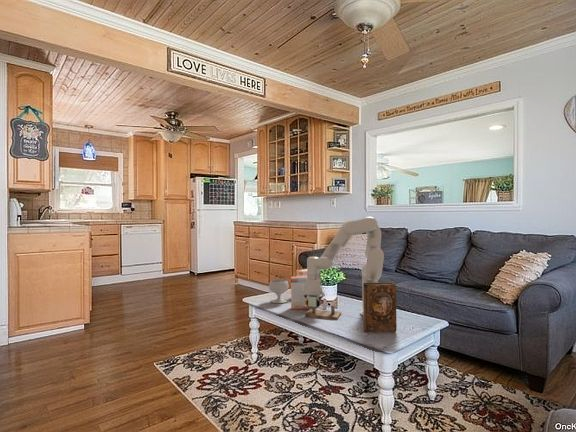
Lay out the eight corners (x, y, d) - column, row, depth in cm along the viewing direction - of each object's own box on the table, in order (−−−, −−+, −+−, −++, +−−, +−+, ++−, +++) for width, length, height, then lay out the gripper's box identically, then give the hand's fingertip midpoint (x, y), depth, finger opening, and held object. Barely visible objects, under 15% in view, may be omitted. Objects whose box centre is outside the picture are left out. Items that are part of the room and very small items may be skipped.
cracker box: (313, 307, 233) (312, 276, 233) (312, 310, 227) (312, 277, 227) (291, 307, 234) (291, 275, 234) (291, 309, 228) (290, 277, 228)
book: (365, 333, 183) (364, 285, 182) (362, 329, 188) (362, 283, 188) (396, 332, 183) (396, 284, 183) (393, 328, 189) (392, 282, 188)
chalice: (282, 305, 239) (282, 283, 239) (265, 302, 246) (265, 281, 246) (292, 300, 251) (292, 279, 251) (275, 298, 258) (275, 278, 258)
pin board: (341, 314, 217) (341, 303, 217) (337, 319, 205) (337, 308, 205) (310, 311, 223) (310, 301, 223) (304, 316, 212) (304, 306, 212)
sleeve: (318, 306, 218) (318, 295, 218) (316, 309, 213) (316, 297, 213) (310, 306, 220) (310, 294, 219) (307, 308, 215) (307, 296, 215)
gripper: (328, 276, 217) (328, 305, 217) (301, 275, 223) (301, 303, 223) (325, 278, 210) (325, 309, 210) (298, 277, 216) (298, 306, 216)
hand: (313, 305), depth 216 cm, fingers closed on sleeve, 5 cm apart
